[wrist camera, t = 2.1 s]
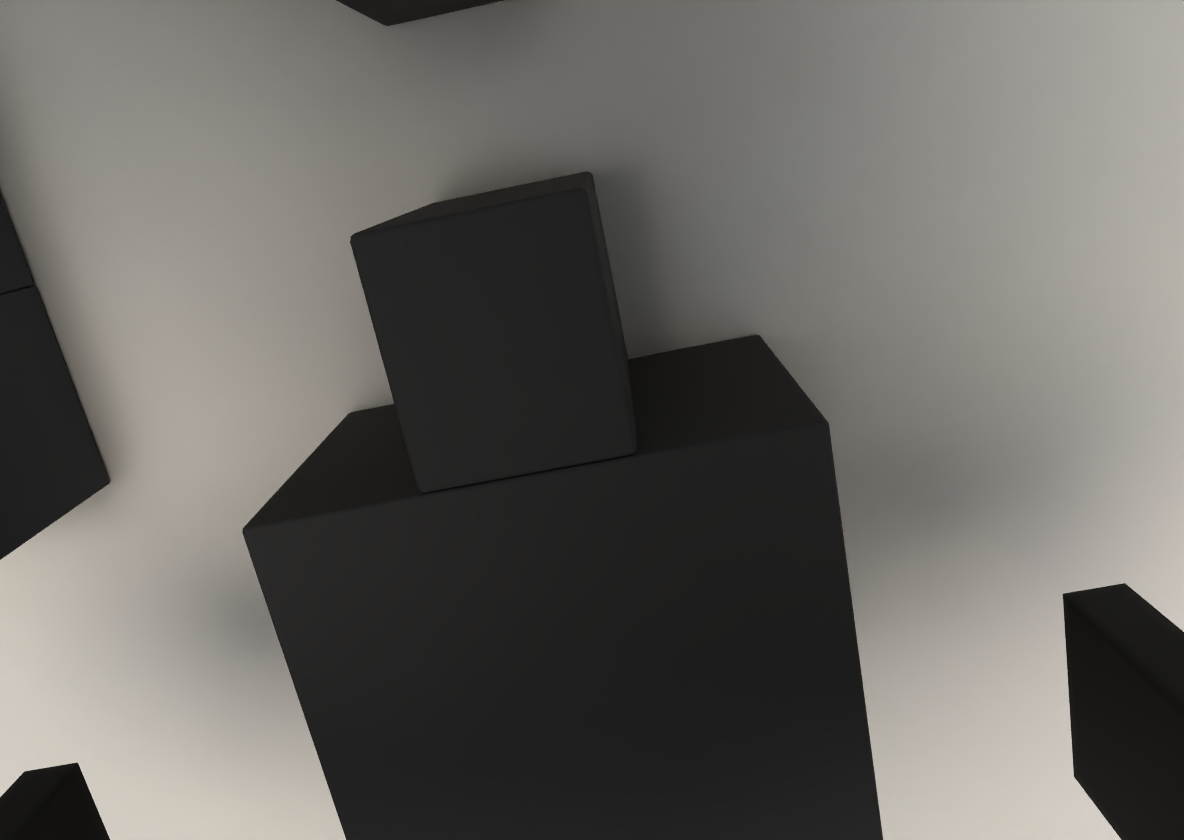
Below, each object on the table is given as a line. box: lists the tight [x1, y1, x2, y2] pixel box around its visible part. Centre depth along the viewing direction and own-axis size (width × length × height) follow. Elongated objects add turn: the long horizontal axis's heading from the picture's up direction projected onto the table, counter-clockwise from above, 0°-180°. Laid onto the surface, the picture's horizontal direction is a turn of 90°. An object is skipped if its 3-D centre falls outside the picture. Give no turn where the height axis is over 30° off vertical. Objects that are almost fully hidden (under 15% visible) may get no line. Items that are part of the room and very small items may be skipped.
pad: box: [243, 172, 883, 840], centre depth 15 cm, size 8×10×6 cm
